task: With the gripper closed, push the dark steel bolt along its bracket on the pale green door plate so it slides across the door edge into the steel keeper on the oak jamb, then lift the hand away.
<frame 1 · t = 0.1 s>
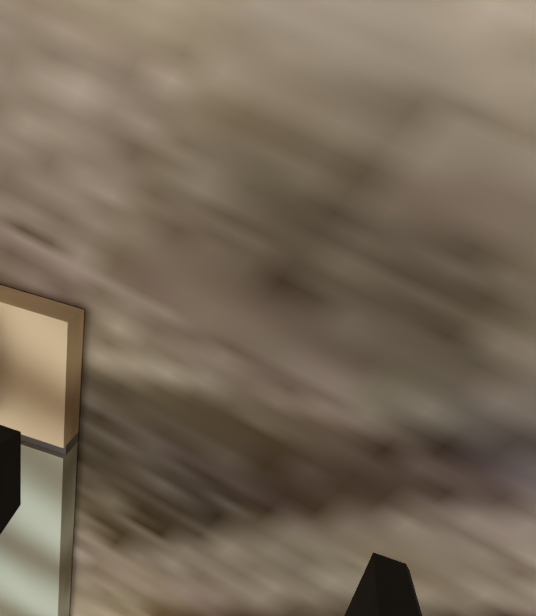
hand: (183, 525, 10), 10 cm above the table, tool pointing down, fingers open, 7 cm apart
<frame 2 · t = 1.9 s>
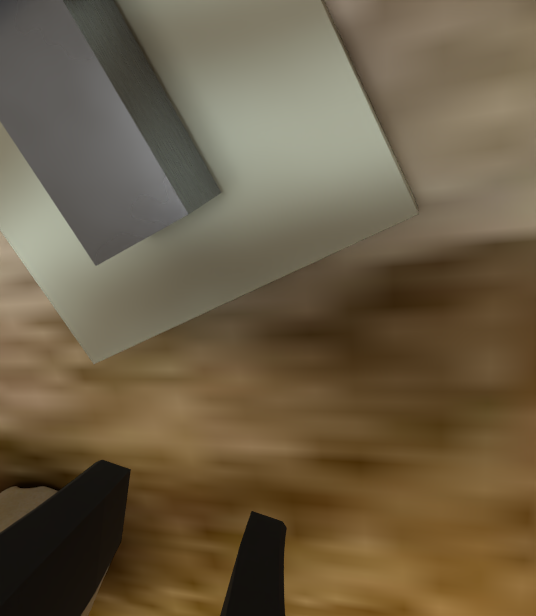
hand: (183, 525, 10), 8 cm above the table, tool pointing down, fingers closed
flower pot: (56, 530, 25), on the table
bolt: (63, 66, 13), point 3 cm above the table, slide at 0.0 cm
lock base: (88, 19, 15), on the table
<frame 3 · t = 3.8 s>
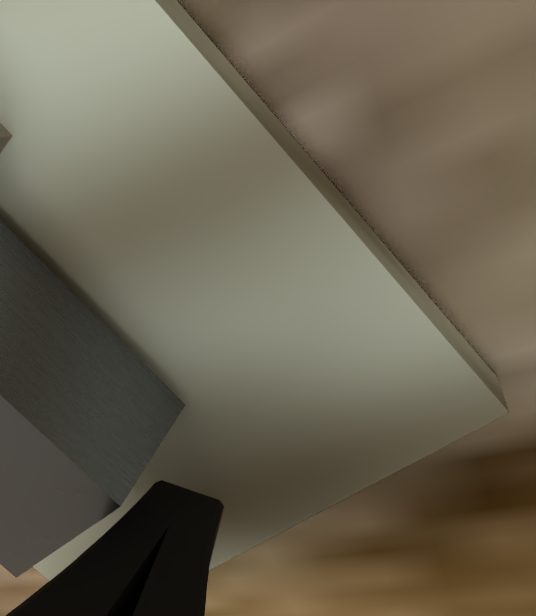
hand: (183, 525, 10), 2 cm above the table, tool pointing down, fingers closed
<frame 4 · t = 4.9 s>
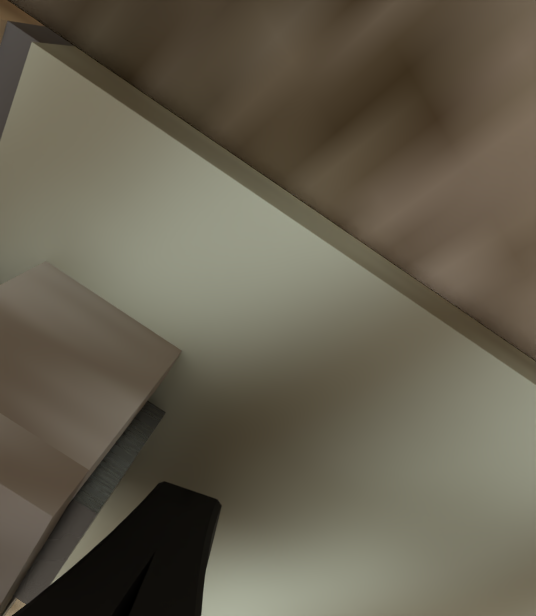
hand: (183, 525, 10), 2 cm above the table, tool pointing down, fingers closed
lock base: (149, 407, 12), on the table
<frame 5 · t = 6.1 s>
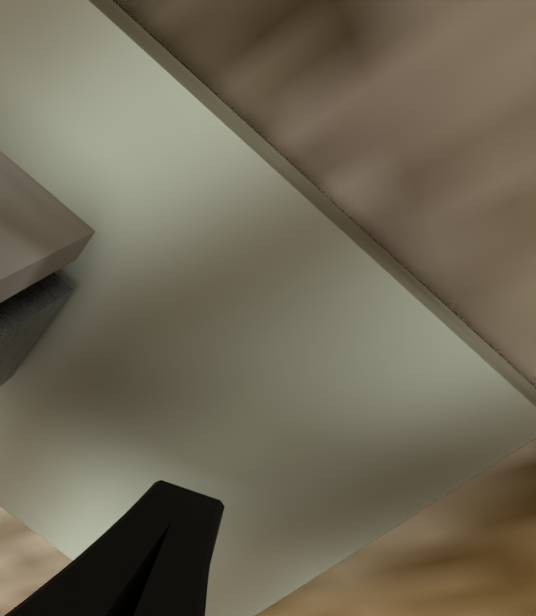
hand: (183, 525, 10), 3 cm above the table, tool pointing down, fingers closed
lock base: (66, 298, 12), on the table
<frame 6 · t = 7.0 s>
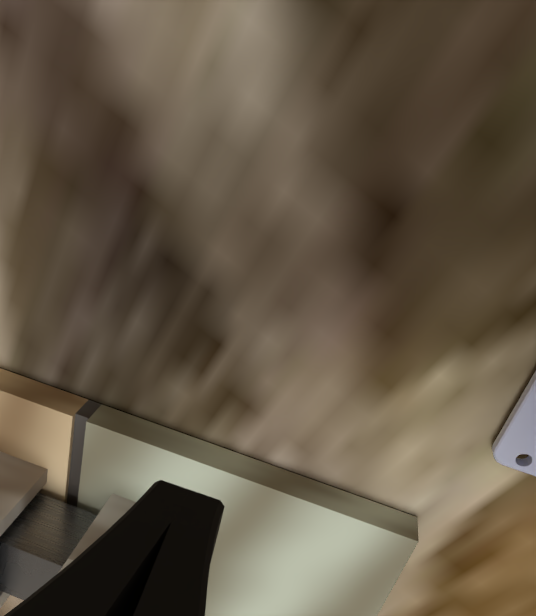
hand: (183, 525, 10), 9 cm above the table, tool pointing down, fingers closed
bolt: (61, 556, 21), point 3 cm above the table, slide at 5.6 cm
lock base: (178, 538, 24), on the table
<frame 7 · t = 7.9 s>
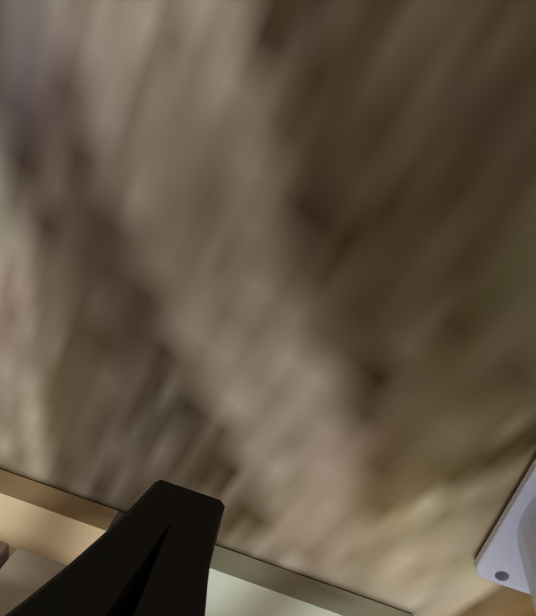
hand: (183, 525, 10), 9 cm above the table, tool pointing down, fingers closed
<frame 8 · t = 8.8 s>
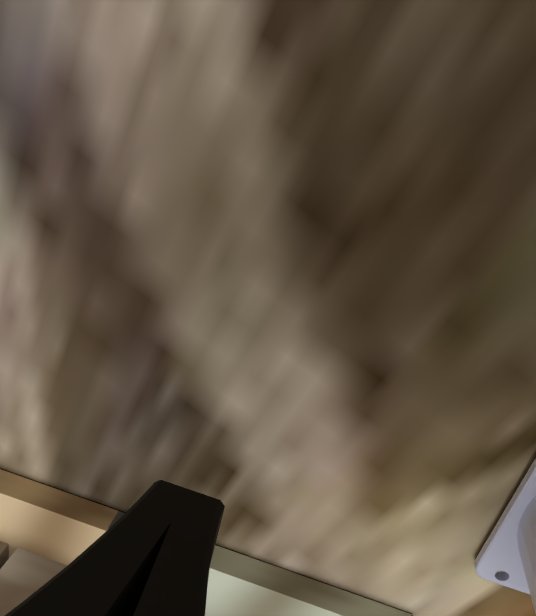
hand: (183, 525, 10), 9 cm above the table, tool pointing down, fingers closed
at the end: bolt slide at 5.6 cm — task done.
